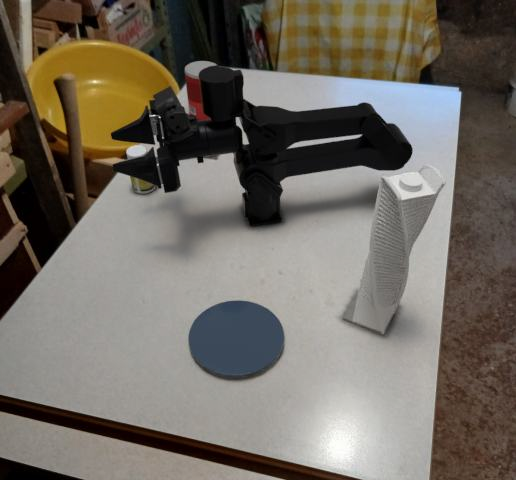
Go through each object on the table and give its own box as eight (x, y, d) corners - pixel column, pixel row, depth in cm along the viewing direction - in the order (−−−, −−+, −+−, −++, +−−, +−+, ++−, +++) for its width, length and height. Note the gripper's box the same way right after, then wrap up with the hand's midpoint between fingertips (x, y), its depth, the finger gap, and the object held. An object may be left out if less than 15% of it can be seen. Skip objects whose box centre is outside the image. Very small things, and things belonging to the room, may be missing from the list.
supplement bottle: (159, 183, 106) (153, 146, 99) (149, 196, 103) (142, 159, 97) (139, 178, 107) (131, 142, 100) (128, 191, 104) (119, 154, 98)
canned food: (218, 125, 120) (214, 77, 111) (185, 121, 121) (179, 74, 112) (225, 109, 125) (223, 62, 116) (194, 105, 126) (189, 59, 117)
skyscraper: (406, 310, 84) (458, 158, 62) (389, 343, 80) (439, 194, 58) (359, 292, 87) (392, 140, 65) (340, 324, 82) (369, 173, 60)
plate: (271, 299, 86) (271, 293, 85) (294, 370, 77) (294, 365, 76) (183, 314, 84) (182, 308, 83) (196, 388, 75) (195, 383, 74)
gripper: (192, 62, 84) (97, 74, 82) (208, 122, 73) (99, 137, 71) (200, 126, 93) (114, 137, 91) (216, 187, 82) (119, 202, 80)
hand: (112, 151), depth 83 cm, fingers open, 9 cm apart
